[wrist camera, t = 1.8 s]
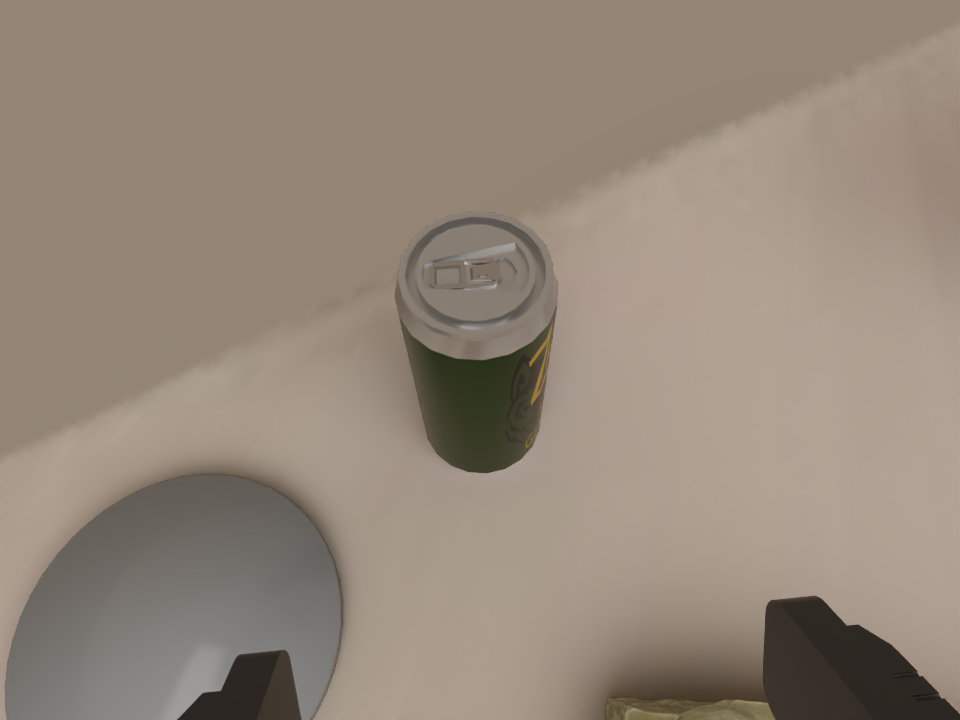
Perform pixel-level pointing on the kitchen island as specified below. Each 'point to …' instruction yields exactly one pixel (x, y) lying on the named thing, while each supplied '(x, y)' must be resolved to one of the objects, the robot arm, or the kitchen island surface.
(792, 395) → the kitchen island surface
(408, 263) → the beer can
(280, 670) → the robot arm
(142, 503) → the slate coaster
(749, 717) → the decorative tile
